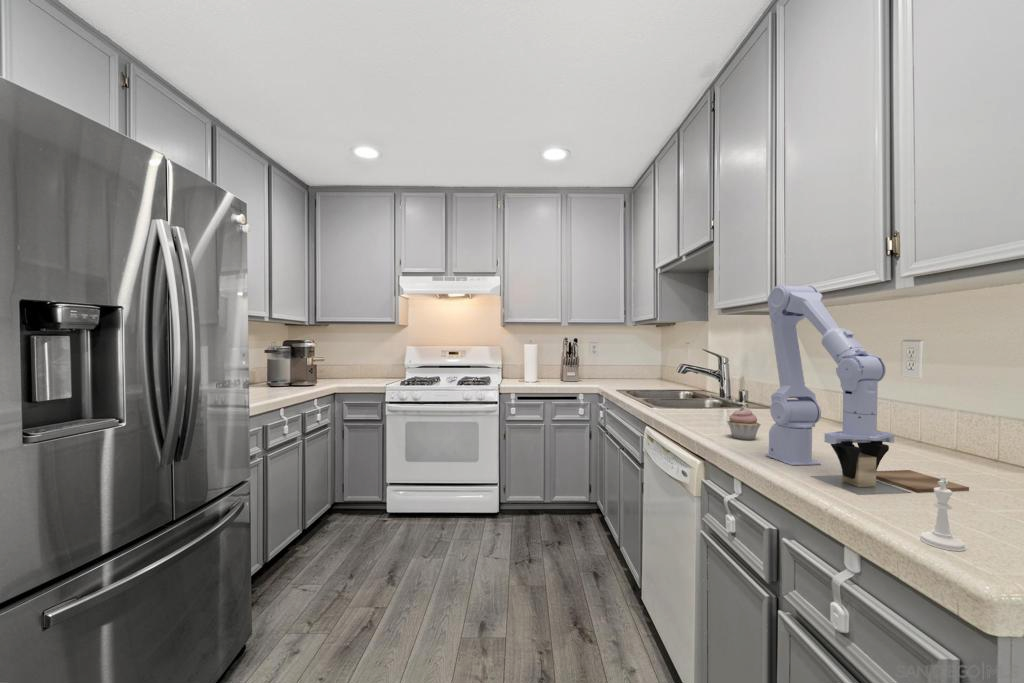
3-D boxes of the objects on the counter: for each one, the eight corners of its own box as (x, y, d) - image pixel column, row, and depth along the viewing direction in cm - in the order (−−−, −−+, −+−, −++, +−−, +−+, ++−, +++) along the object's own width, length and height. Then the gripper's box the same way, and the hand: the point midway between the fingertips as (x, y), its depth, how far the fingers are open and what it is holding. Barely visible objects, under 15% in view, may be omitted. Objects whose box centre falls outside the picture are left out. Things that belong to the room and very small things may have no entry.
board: (862, 475, 101) (862, 471, 101) (909, 473, 103) (909, 470, 103) (917, 493, 89) (917, 489, 89) (968, 491, 91) (969, 487, 91)
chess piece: (912, 539, 68) (913, 473, 68) (931, 534, 70) (932, 470, 70) (953, 553, 64) (954, 483, 64) (973, 548, 66) (974, 480, 65)
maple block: (841, 480, 96) (842, 452, 96) (858, 480, 97) (859, 452, 96) (858, 486, 92) (859, 457, 92) (875, 486, 93) (876, 457, 93)
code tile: (810, 476, 99) (810, 476, 99) (858, 475, 101) (858, 474, 101) (858, 495, 88) (858, 494, 88) (912, 493, 89) (912, 492, 89)
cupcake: (721, 434, 143) (721, 403, 143) (751, 435, 143) (751, 403, 143) (734, 441, 134) (735, 408, 134) (766, 441, 134) (766, 408, 134)
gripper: (845, 416, 89) (844, 484, 89) (909, 415, 91) (908, 481, 91) (816, 410, 96) (815, 473, 96) (876, 409, 98) (875, 471, 98)
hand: (858, 476), depth 94 cm, fingers closed on maple block, 4 cm apart
